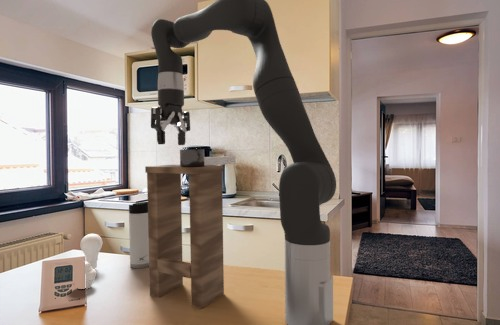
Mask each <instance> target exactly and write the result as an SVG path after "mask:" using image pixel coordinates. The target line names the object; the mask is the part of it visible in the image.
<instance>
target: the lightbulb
mask: <svg viewBox="0 0 500 325" xmlns="http://www.w3.org/2000/svg"><path fill="white" fill-rule="evenodd" d="M103 243H104V242H103V239H102V237H101V236H100V235H99V234H97V233H88V234H86V235H85V236H83V238H82V239H81V240H80V243H79V244H80V246H79V247H80V249H81V251H82V253H83V254H84V256H85V262H89V263H90V264H91V267H92V268H93V269H96V268H97V267H98V266H97V265H98V260H99V259H98V258H99V254H100V251H101V250H102V246H103Z"/></svg>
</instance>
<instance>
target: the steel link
mask: <svg viewBox="0 0 500 325" xmlns="http://www.w3.org/2000/svg"><path fill="white" fill-rule="evenodd" d="M179 163H180V164H179V165H180V167H204V166H212V165H223V166H224V165H234V164H235V165H236V155H235V156H234V155H229V156H228V155H227V156H226V155H225V156H222V155H221V156H205V149H179Z"/></svg>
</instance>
